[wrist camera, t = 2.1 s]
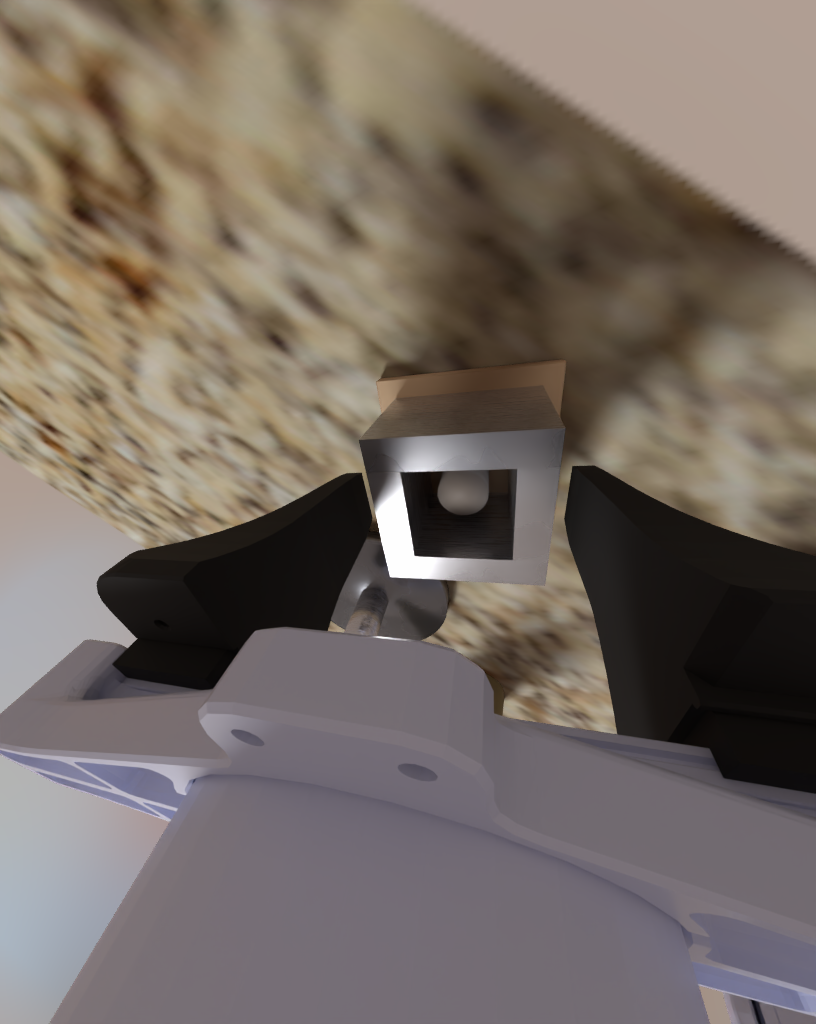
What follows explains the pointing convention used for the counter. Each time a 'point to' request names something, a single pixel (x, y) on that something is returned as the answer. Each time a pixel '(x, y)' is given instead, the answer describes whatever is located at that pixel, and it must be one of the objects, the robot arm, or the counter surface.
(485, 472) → the stand
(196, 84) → the counter surface
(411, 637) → the hub
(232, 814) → the robot arm
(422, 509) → the square metal tube
